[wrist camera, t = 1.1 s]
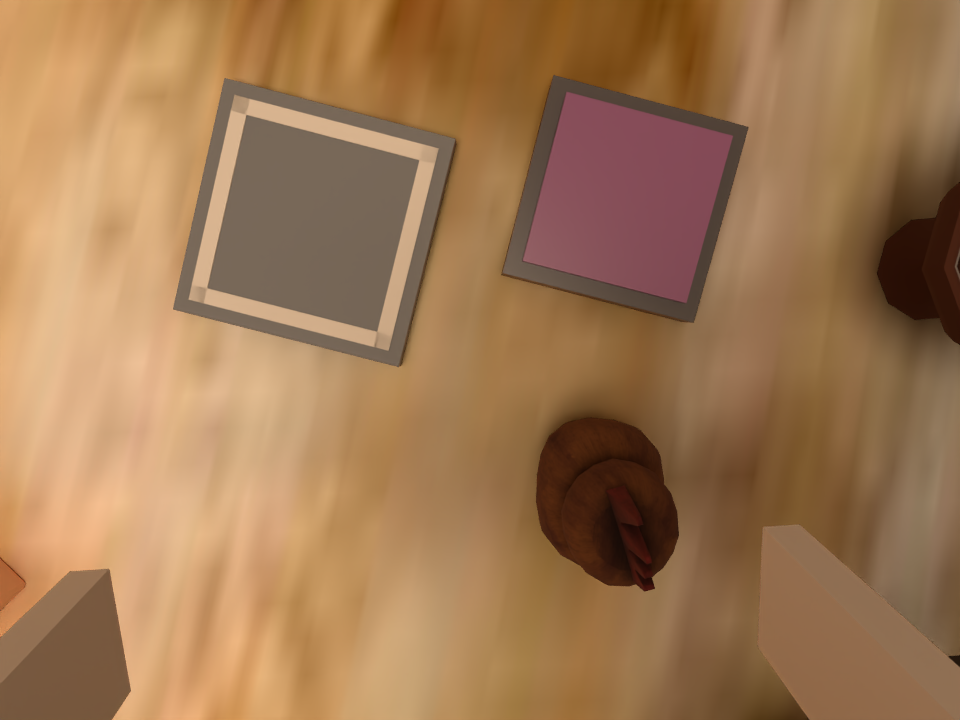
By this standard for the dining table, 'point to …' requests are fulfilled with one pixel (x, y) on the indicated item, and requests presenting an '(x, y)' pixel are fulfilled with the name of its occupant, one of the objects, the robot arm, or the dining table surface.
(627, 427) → the wooden figurine
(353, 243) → the marked board
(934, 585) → the dining table surface
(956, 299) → the ice cream bowl
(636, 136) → the ink pad
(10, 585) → the soap dispenser
